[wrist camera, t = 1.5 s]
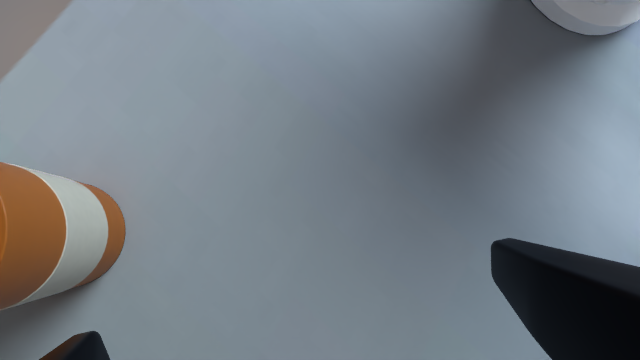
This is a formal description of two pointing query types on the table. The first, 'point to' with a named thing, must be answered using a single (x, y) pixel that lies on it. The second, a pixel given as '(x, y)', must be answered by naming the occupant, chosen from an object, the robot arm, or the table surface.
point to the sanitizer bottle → (53, 234)
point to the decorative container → (591, 14)
